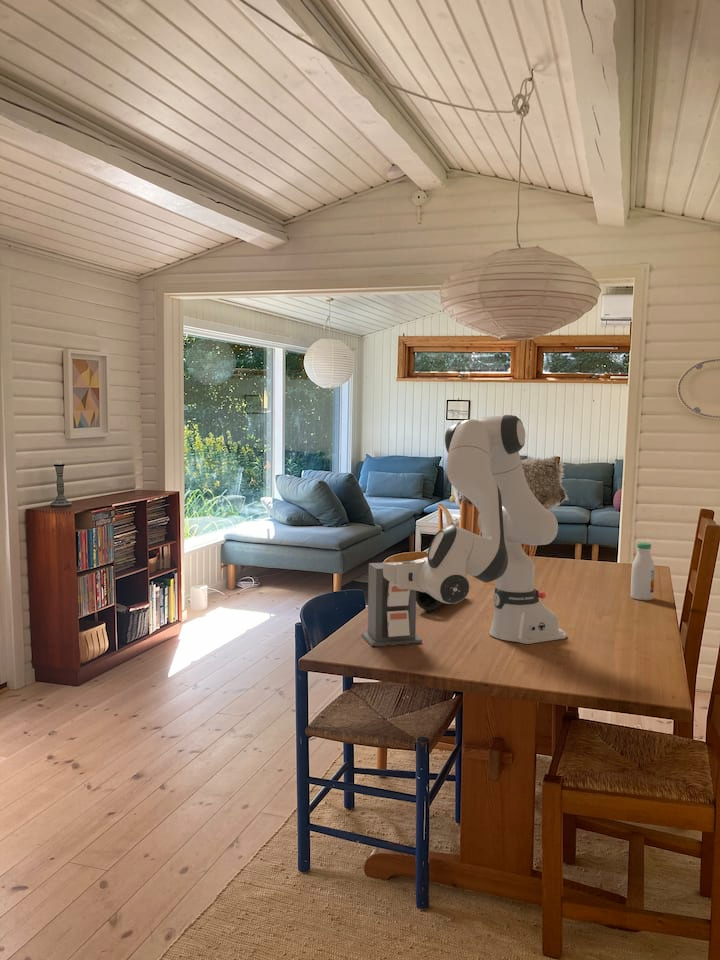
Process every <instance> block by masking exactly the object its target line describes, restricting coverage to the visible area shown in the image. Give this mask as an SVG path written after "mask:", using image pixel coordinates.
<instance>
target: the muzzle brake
mask: <svg viewBox="0 0 720 960" xmlns="http://www.w3.org/2000/svg"><path fill="white" fill-rule="evenodd" d="M443 604H444V603H443V602H440V601H438V600H436V599H435V598H433V597H432V596H430V595H429V594H427V593H426V592H420V591H416V605H418V606H419V608H421V609H422V610H424V611H426V613H428V612H429V613H432V612H433V611H435V610H436V609H437V608H439V607H440V606H442V605H443Z"/></svg>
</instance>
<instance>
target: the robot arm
mask: <svg viewBox="0 0 720 960" xmlns="http://www.w3.org/2000/svg"><path fill="white" fill-rule="evenodd" d="M525 443H526V429H525V426H524V422H522V420H521V419H520V418H519V417H518V416H516V415H512V414H504V415H500V416H495V415H494V416H485V417H481V418H476V419H475V418H473V419H464V420H463V421H461V422H460V421H459V422H457V423H454V424H452V425H450V426H449V427H448V428H447V430H446V431H445V434H444V444H445V445H444V446H445V449H446V452H447V459H446V465H445V466H446V468H445V469H446V471H445V472H446V476H447V479H448V481H449V482H450V484H451V486H452V487H453V488H454V489H455V490H456V491H458V492H459V493H460V494H461V495H463V496H464V498H466V499H467V500H468V501H470V503H472V504H473V506H475V508H476V509H477V511H478V513H479V514H478V518H477V525H478V528H479V532H481V535H479V534H477V533H474V532H472V531H470V530H467V529H465V528H463V527H460V526H459V525H458V526H457V525H455V524H449V525H447V526H445V527H443V528H442V529H440V530H438V531H437V532H436V533H435V534H434V536H433V537H432V539H431V542H430V543H429V547H428V552H427V556H425V557H423V558H417V559H415V560H410V561H409V560H408V561H407V560H406V561H395V562H394V561H389V562H390V563H387V562H383V563H384V565H383V576H384V578H385V579H387V580H388V581H389V582H391V583H393V584H397V588H399V589H405V590H416V591H420V592H426V593H427V594H429V595H430V596H432V597H433V598H435V599H436V600H438V601H440V602H443V604H448V605H450V604H451V605H453V604H457V603H459V602H461V601H463V600H464V599H465V598H466V597H467V596H468V594H469V592H470V585H471V584H470V581H469V578H468V576H467V575H470V576H472V577H473V578H475V579H477V580H479V581H481V582H483V583H485V584H487V583H490V582H493V581H495V582H496V583H495V584H496V586H494V595H493V597H494V598H493V599H494V600H493V601H494V613H493V618H492V622H491V627H490V630H489V635H490V636H491V637H494V638H496V639H498V640H503V641H508V642H517V643H520V644H525V645H528V644H529V645H531V644H537V643H543V642H549V641H556V640H564V639H566V638H567V633H566V631H564V630H563V629H562V628H560V627H559V626H560V625H559V621H558V617H557V616H556V613H555V612H553V611H552V610H551V609H549V608H548V607H547V606H546V605H545V604H544V603H542V602H541V601H540V599H542V600H544V599H546V597H547V594H546V592H544V591H542V590H537V589H536V588H535V575H536V573H535V571H536V570H535V569H536V568H535V564H534V561H533V559H532V558H530V556H528V555H527V554H526V551H524V549H523V546H522V545H528V546H546V545H549V544H551V543H552V542H553V541H554V540H555V539H556V537H557V535H558V531H559V523H558V520H557V518H556V515H555V514H554V513H553V512H552V511H549V510H548V509H547V508H546V507H545V506H544V505H543V504H542V503H541V502H540V501H539V500H538V498H537V497H536V496H535V494H534V493H533V491H532V490H531V488H530V486H529V484H528V481H527V478H526V474H525V471H524V467H523V463H522V459H521V455H520V451H521V450H522V449H523V448H524V446H525ZM539 598H540V599H539Z"/></svg>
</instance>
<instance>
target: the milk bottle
mask: <svg viewBox="0 0 720 960" xmlns="http://www.w3.org/2000/svg"><path fill="white" fill-rule="evenodd" d="M651 548H652V544H651V543H650V542H649V543H648V542H638V543H637V544H636V549H637V552H636V555H635V557H634V559H633V562H632V563H631V564H632V565H631V574H630V575H631V577H630V597H631V599H635V600H638V601H651V600H653V599H654V590H655V589H654V587H655V586H654V585H655V564H654V560H653V559H652V554H651V550H652V549H651Z"/></svg>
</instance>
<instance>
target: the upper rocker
mask: <svg viewBox="0 0 720 960" xmlns="http://www.w3.org/2000/svg"><path fill="white" fill-rule="evenodd" d="M409 595H410V590H405V589H399V588H397V584H393V583H391V582H389V588H388V593H387V596H388V598H387V606H388V607H389V606H406V605H408V603H409Z"/></svg>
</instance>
